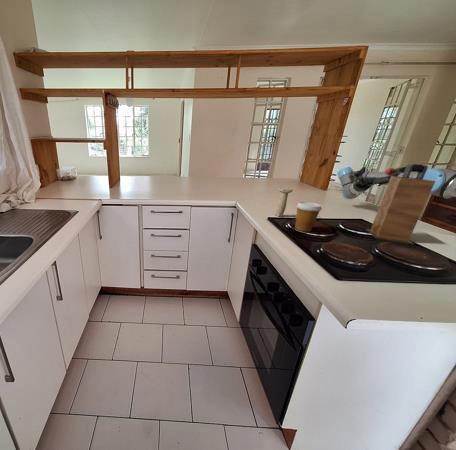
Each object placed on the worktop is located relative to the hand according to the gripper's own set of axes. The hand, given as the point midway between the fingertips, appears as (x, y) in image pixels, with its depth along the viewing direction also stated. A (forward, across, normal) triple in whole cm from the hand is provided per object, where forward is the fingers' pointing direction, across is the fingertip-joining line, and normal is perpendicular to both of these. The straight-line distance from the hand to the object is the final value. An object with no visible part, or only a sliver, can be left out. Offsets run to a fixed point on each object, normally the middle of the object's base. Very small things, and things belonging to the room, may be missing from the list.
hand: (381, 170), depth 117 cm
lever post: (+11, 0, -37) cm, 39 cm away
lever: (+17, 0, -9) cm, 19 cm away
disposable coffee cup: (+16, +33, -40) cm, 54 cm away
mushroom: (0, +42, -31) cm, 52 cm away
